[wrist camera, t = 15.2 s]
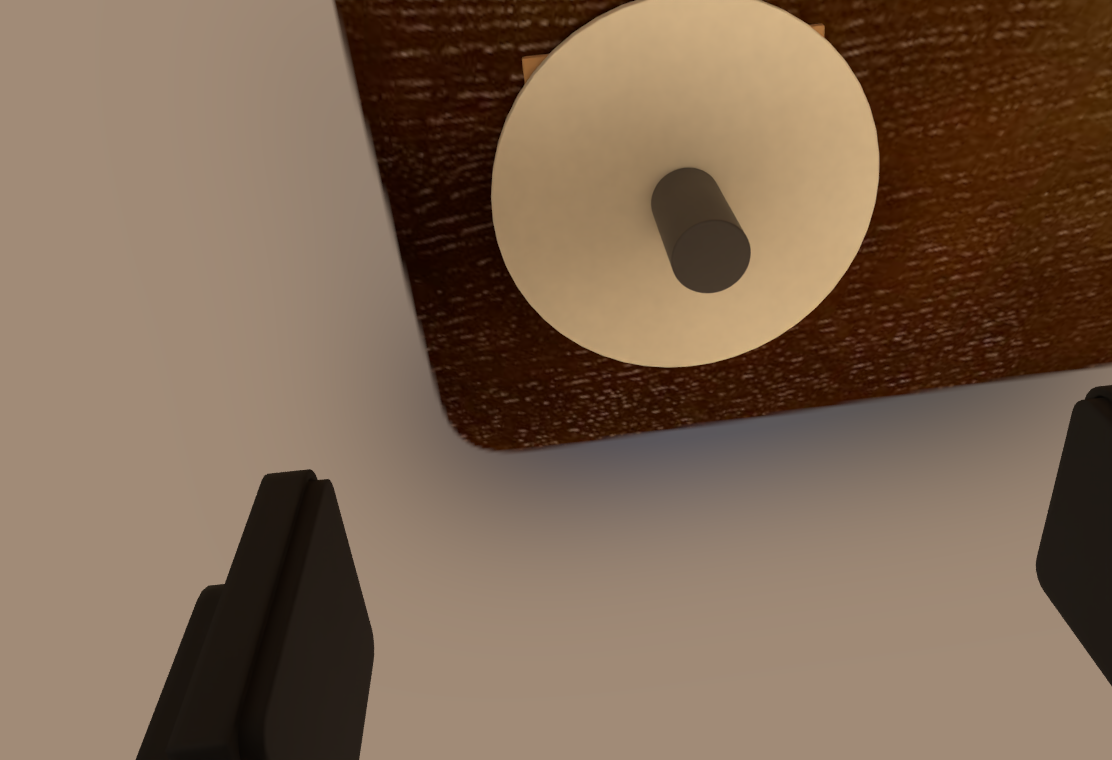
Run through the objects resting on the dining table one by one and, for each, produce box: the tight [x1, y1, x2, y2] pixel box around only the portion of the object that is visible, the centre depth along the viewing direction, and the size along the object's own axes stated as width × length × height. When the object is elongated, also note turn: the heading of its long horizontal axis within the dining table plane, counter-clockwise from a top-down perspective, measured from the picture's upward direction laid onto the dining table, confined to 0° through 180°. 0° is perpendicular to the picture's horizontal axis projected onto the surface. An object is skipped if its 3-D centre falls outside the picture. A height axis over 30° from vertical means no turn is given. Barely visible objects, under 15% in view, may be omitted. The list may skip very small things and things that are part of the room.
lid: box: [491, 0, 879, 367], centre depth 30 cm, size 13×13×6 cm
